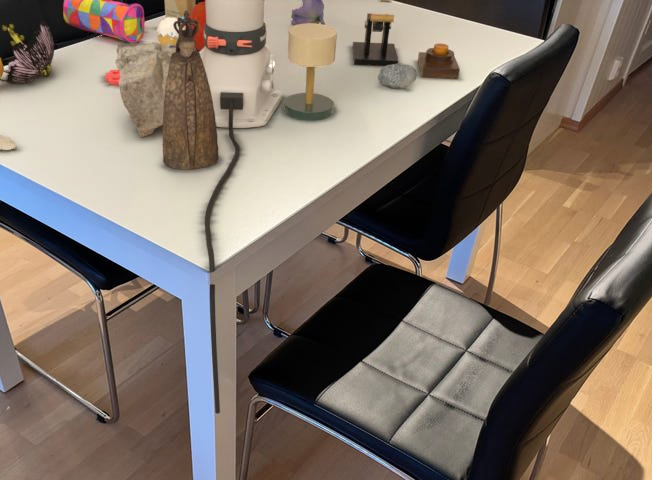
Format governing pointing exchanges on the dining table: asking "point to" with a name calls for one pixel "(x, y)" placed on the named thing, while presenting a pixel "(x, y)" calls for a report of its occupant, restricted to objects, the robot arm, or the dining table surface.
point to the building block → (113, 77)
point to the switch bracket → (375, 48)
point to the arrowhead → (6, 143)
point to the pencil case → (106, 18)
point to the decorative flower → (30, 55)
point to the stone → (144, 82)
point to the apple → (199, 24)
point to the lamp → (310, 68)
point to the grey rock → (397, 75)
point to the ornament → (168, 31)
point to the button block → (438, 65)
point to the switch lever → (380, 21)
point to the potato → (1, 69)
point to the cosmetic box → (178, 7)
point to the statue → (188, 106)
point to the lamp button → (440, 49)
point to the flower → (308, 13)
